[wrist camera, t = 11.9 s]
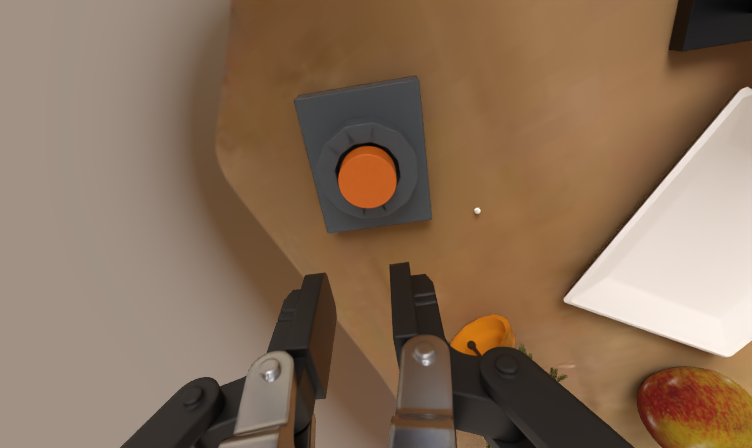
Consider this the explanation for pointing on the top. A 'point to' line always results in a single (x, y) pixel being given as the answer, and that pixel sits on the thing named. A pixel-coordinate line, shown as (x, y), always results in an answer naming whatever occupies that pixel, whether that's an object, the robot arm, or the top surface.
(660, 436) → the fruit
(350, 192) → the button
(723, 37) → the switch bracket
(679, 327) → the plate
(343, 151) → the control block
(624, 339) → the top surface
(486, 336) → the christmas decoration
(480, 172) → the top surface
